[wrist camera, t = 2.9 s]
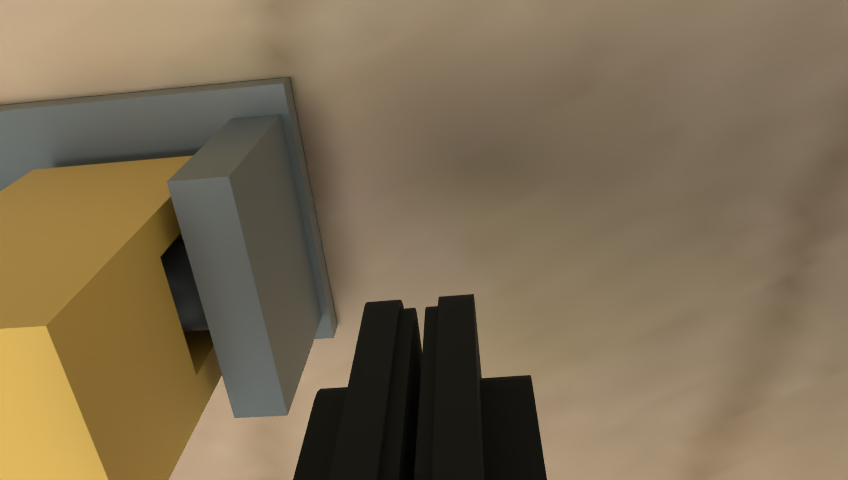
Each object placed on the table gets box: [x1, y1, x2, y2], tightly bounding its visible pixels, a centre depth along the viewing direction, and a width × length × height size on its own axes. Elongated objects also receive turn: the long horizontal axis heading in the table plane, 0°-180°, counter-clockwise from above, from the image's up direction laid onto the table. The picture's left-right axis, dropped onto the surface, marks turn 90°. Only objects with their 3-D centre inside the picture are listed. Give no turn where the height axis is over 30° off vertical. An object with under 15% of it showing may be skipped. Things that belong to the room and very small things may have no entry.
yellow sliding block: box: [0, 156, 222, 480], centre depth 15 cm, size 4×4×7 cm
